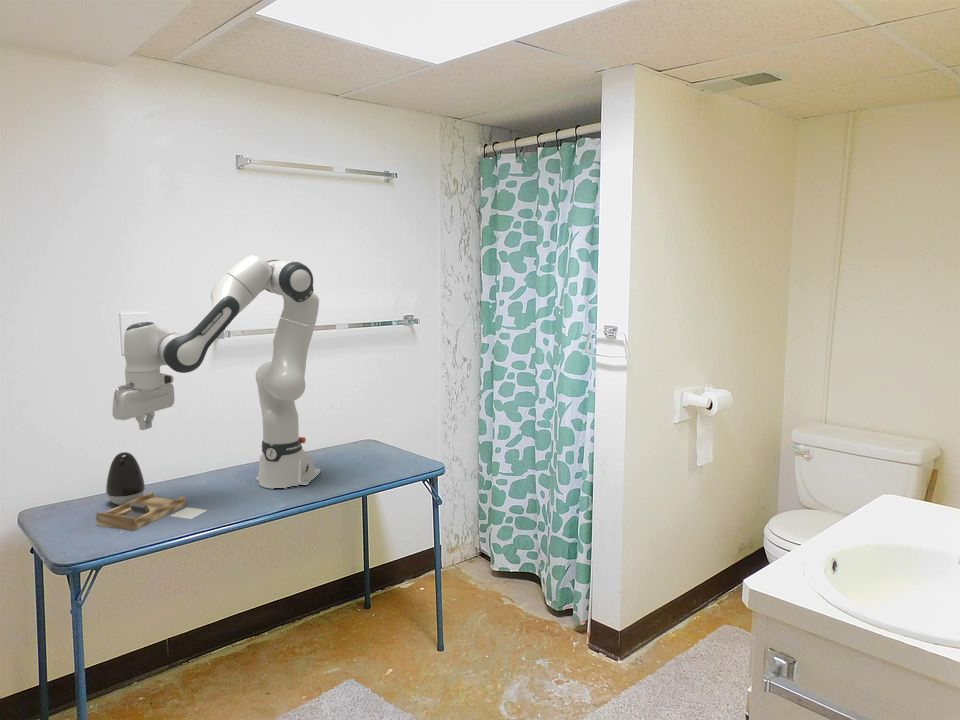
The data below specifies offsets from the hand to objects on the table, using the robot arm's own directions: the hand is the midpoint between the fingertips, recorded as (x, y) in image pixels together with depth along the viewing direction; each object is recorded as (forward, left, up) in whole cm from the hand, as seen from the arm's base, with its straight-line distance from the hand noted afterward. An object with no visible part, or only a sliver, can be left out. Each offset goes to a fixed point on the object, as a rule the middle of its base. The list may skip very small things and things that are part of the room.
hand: (145, 428), depth 198 cm
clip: (+8, +3, -23) cm, 24 cm away
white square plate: (+1, +14, -24) cm, 28 cm away
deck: (+6, +3, -24) cm, 25 cm away
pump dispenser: (-3, -11, -24) cm, 27 cm away
